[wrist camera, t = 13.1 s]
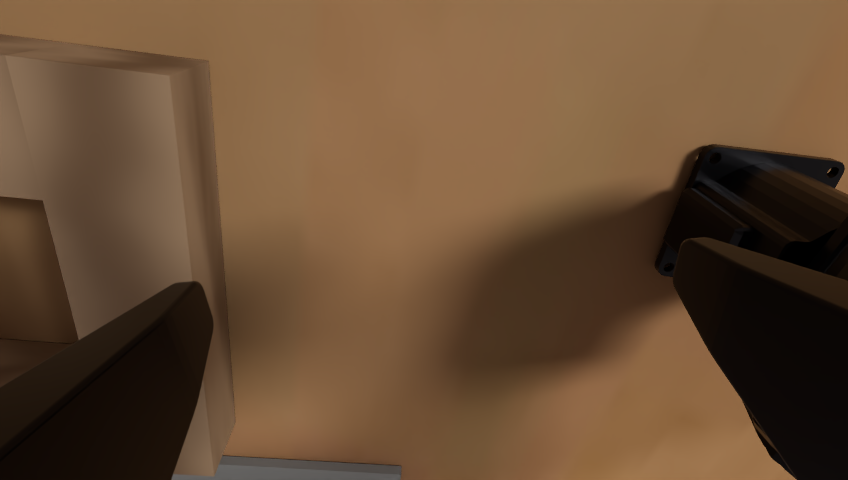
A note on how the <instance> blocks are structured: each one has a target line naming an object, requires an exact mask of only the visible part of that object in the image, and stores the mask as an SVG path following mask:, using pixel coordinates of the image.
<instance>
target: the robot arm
mask: <svg viewBox="0 0 848 480" xmlns="http://www.w3.org/2000/svg"><path fill="white" fill-rule="evenodd" d="M714 153H716V156H715V158H714V159H713V160H711V161H709V159H710V157H711V155H712V154H714ZM830 168H831V171H830V172H829V173H827V172H828V170H829V169H830ZM844 170H845V168H844V165H843V163H841V162H839V161H836V160H834V159H830V158H822V157H814V156H806V155H798V154H790V153H782V152H774V151H766V150H757V149H749V148H741V147H733V146H725V145H717V144H712V145H708V146H706V147H705V148H704V149H703V150H702V151H701V152H700V154H699V156H698V159H697V161H696V164H695V166H694V169H693V171H692V174H691V176H690V178H689V181H688V183H687V186H686V188H685V190H684V191H683V192H682V194H681V197H680V199H679V202H678V204H677V207H676V209H675V212H674V214H673V217H672V219H671V221H670V224H669V226H668V229H667V231H666V234H665V236H664V242H663V245H662V247H661V250H660V252H659V254H658V257H657V259H656V262H655V268H656V270H657V271H658V272H659V273H660V274H661V275H663V276H670V277H673V284H674V287H675V289H676V291H677V293H678V295H679V297H680V299H681V301H682V302H683V304H684V306H685V308H686V310H687V312H688V314H689V315H690V317H691V319H692V321H693V323H694V325H695V326H696V328H697V330H698V332H699V334H700V336H701V338H702V339H703V341H704V343H705V345H706V346H707V348H708V350H709V352H710V353H711V355H712V356H713V358H714V359H715V361H716V363H717V364H718V366H719V367H720V368H721V370H722V371H723V373H724V374H725V376H726V377H727V379H728V380H729V382H730V383H731V384H732V386H733V387H734V389H735V390H736V392H737V393H738V395H739V396H740V398H741V399H742V401H743V403H744V405H745V408H746V410H747V412H748V414H749V417H750V419H751V421H752V423H753V426H754V428H755V430H756V432H757V434H758V436H759V438H760V440H761V441H762V443H763V445H764V446H765V447H766V449H767V451H768V453H769V455H770V457H771V458H772V459H773V460H774V461H776V462H777V463H778V464H780V465H781V466H782V467H783V468H784V469H785V470H786V471H787V472H789V473H790V474H791V475H792V476H793V477H794V478H795V479H797V480H848V195H847V194H845V193H843V192H841V191H839V190H837V189H835V187H836V185H837V184H838V182H839V180H840V178H841V177H842V175H843V173H844ZM667 263H670V264H669V266H667V267H664V266H665V265H666V264H667ZM213 330H214V320H213V316H212V313H211V310H210V307H209V303H208V300H207V297H206V294H205V291H204V288H203V286H202V285H201V283H199V282H198V281H188V282H177V283H174V284H172V285H170V286H169V287H167V288H165V289H164V290H162V291H160V292H158V293H157V294H155V295H153V296H152V297H150V298H148V299H147V300H145V301H143V302H142V303H140V304H138V305H137V306H135V307H133V308H132V309H130V310H128V311H127V312H125V313H123V314H122V315H120V316H118V317H117V318H115V319H113V320H112V321H110V322H108V323H107V324H105V325H103V326H102V327H100V328H98V329H97V330H95V331H93V332H92V333H90V334H88V335H87V336H85V337H83V338H81V339H80V340H78V341H76V342H75V343H73V344H71V345H70V346H68V347H66V348H65V349H63V350H61V351H60V352H58V353H56V354H55V355H53V356H51V357H50V358H48V359H46V360H45V361H43V362H41V363H40V364H38V365H36V366H35V367H33V368H31V369H30V370H28V371H26V372H25V373H23V374H21V375H20V376H18V377H16V378H15V379H13V380H11V381H10V382H8V383H6V384H5V385H3V386H1V387H0V480H171V479H172V476H173V473H174V471H175V468H176V465H177V462H178V459H179V456H180V453H181V450H182V447H183V445H184V442H185V439H186V436H187V433H188V430H189V427H190V424H191V421H192V418H193V415H194V412H195V409H196V406H197V403H198V399H199V395H200V391H201V386H202V381H203V377H204V372H205V367H206V363H207V358H208V353H209V349H210V344H211V339H212V335H213Z"/></svg>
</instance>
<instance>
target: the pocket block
mask: <svg viewBox="0 0 848 480" xmlns="http://www.w3.org/2000/svg"><path fill="white" fill-rule="evenodd" d="M0 196H4V197H14V198H24V199H34V200H43V204H44V207H45V211H46V215H47V219H48V223H49V227H50V231H51V234H52V238H53V242H54V246H55V250H56V254H57V258H58V261H59V265H60V269H61V273H62V277H63V281H64V285H65V288H66V292H67V296H68V300H69V304H70V308H71V312H72V315H73V319H74V323H75V327H76V331H77V335H78V339H79V340H80V339H81V338H83V337H85V336H87V335H88V334H90V333H92V332H93V331H95V330H97V329H98V328H100V327H102V326H103V325H105V324H107V323H108V322H110V321H112V320H113V319H115V318H117V317H118V316H120V315H122V314H123V313H125V312H127V311H128V310H130V309H132V308H133V307H135V306H137V305H138V304H140V303H142V302H143V301H145V300H147V299H148V298H150V297H152V296H153V295H155V294H157V293H158V292H160V291H162V290H164V289H165V288H167V287H169V286H170V285H172V284H174V283H177V282H188V281H198V282H199V283H201V285H202V286H203V288H204V291H205V294H206V297H207V300H208V303H209V307H210V310H211V313H212V316H213V320H214V330H213V335H212V339H211V344H210V349H209V353H208V358H207V363H206V367H205V372H204V377H203V381H202V386H201V391H200V395H199V399H198V403H197V406H196V409H195V412H194V415H193V418H192V421H191V424H190V427H189V430H188V433H187V436H186V439H185V442H184V445H183V447H182V450H181V453H180V456H179V459H178V462H177V465H176V468H175V471H174V473H173V474H178V475H197V476H215V473H216V471H217V468H218V465H219V463H220V460H221V458H222V455H223V453H224V450H225V448H226V445H227V442H228V440H229V437H230V435H231V432H232V430H233V427H234V425H235V409H234V395H233V382H232V369H231V355H230V342H229V329H228V315H227V302H226V288H225V275H224V262H223V248H222V235H221V222H220V208H219V195H218V182H217V168H216V155H215V141H214V128H213V115H212V101H211V88H210V75H209V61H205V60H198V59H190V58H182V57H174V56H166V55H158V54H150V53H143V52H135V51H127V50H119V49H111V48H103V47H95V46H88V45H80V44H72V43H64V42H56V41H48V40H40V39H33V38H25V37H17V36H9V35H1V34H0ZM70 345H71V344H62V343H49V342H35V341H22V340H9V339H0V387H1V386H3V385H5V384H6V383H8V382H10V381H11V380H13V379H15V378H16V377H18V376H20V375H21V374H23V373H25V372H26V371H28V370H30V369H31V368H33V367H35V366H36V365H38V364H40V363H41V362H43V361H45V360H46V359H48V358H50V357H51V356H53V355H55V354H56V353H58V352H60V351H61V350H63V349H65V348H66V347H68V346H70Z"/></svg>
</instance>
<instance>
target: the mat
mask: <svg viewBox="0 0 848 480" xmlns="http://www.w3.org/2000/svg"><path fill="white" fill-rule="evenodd" d="M400 478H401V466H393V465H375V464H358V463H340V462H322V461H305V460H287V459H270V458H252V457H235V456H222V458H221V460H220V463H219V465H218V468H217V471H216V473H215V476H197V475H178V474H173V476H172V479H171V480H400Z"/></svg>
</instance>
